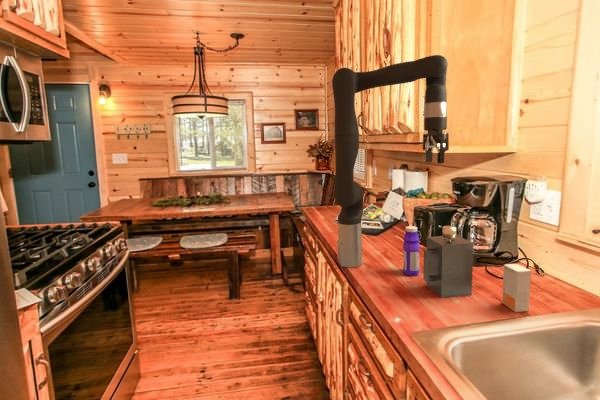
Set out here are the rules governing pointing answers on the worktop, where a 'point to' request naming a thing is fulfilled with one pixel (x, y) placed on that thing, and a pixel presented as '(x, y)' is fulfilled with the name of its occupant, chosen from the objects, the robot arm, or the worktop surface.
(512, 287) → the skincare box
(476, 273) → the worktop surface
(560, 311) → the worktop surface
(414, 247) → the bottle
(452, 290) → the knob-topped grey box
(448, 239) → the plunger
